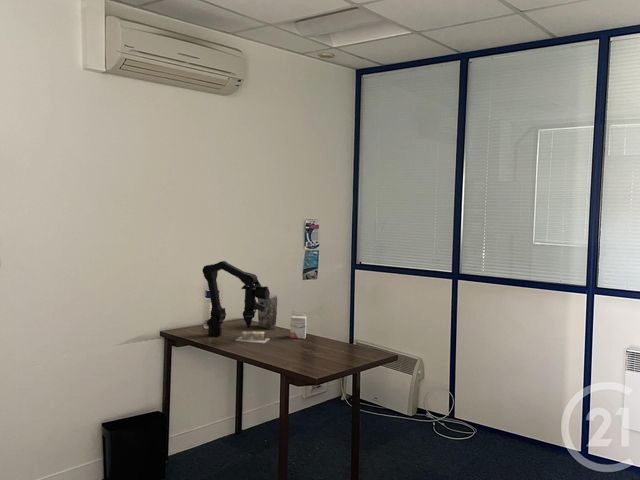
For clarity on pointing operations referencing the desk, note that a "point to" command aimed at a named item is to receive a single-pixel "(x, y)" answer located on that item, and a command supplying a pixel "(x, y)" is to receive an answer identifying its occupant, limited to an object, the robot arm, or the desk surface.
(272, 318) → the stone block
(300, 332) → the ink cartridge box
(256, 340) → the grey board
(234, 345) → the desk surface
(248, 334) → the birch block
